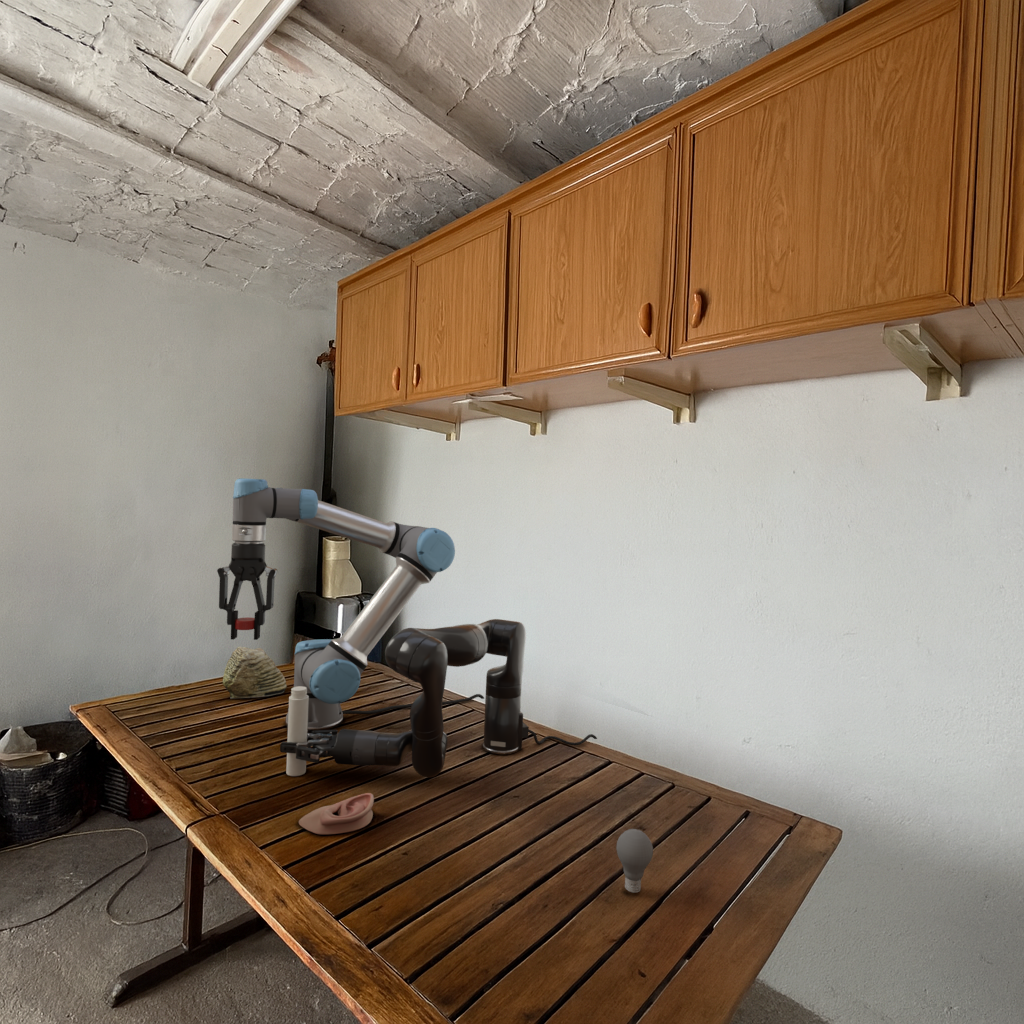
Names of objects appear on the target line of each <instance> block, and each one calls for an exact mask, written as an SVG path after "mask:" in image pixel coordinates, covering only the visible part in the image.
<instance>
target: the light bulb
mask: <svg viewBox="0 0 1024 1024" xmlns="http://www.w3.org/2000/svg"><path fill="white" fill-rule="evenodd" d="M615 849H616V854H617V857H618V859H619V861H620V863H621V865H622V867H623V873H624V874H623V875H624V876H625V878H624V888H625V890H627V891H628V892H630V893H634V894H635V893H639V892H640V891H641V889H642V887H641V886H642V879H643V877H644V875H645V871H646V868H647V867H648V866H649V864H650V863H651V861H652V859H653V855H654V847H653V843H652V841H651V838H649V836H648V835H647V834H646V833H645V832H643V831H642V830H641V829H636V828H629V829H627V830H625V831H623V832H622V833H621V834H620V835H619V837H618V839H617V841H616V847H615Z"/></svg>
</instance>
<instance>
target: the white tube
mask: <svg viewBox="0 0 1024 1024" xmlns="http://www.w3.org/2000/svg"><path fill="white" fill-rule="evenodd" d="M290 690H291V691H290V695H289V697H288V708H289V712H288V711H287V713H288V727H287V738H286V739H287V740H286V742H296V743H304V742H307V733H308V732H307V728H308V701H309V696H308V695H306V694H307V688H306V687H303V686H298V687H294V686H293V687H292V688H291V689H290ZM305 747H306V746H305ZM285 766H286V768H285V770H286V771H285V773H286V775H287V776H290V777H299V776H302V775H305V773H306V772H307V761H305V760H300V759H296V753H286V765H285Z"/></svg>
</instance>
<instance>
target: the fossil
mask: <svg viewBox="0 0 1024 1024" xmlns="http://www.w3.org/2000/svg"><path fill="white" fill-rule="evenodd" d="M222 676H223V677H222V685H223V687H224V688H225V690H226V691H228V693H229V698H230V699H250V698H264V697H271V696H275V695H281V694H284V693H285V691H286V689H287V687H288V686H287V680H286V678H285V676H284V674H283V673H282V672H281V669H279V668H278V667H277V665H276V663H275V662H274V660H273V659H272V658H271V657H270V656H269V655H268V654H267V653H266V652H265V650H264V649H263V648H260V647H258V648H251V647H247V646H246V647H245V646H238V647H237V648H236V649H235V650H233V651H232V653H231V656H230V657H229V659H228V660H227V663H226V666H225V668H224V671H223V675H222Z"/></svg>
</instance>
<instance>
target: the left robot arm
mask: <svg viewBox="0 0 1024 1024" xmlns="http://www.w3.org/2000/svg"><path fill="white" fill-rule="evenodd" d="M233 486H234V487H233V495H232V526H231V541H233V542H232V544H231V554H230V555H231V556H230V562H229V564H228V566H227V565H226V566H221V567H218V568H217V570H216V572H217V574H218V577H219V587H218V589H219V590H218V592H219V593H218V609H220V610H224V611H226V624H227V626H230V640H235V639H237V638H238V630H237V629H235V622H236V619H238V618H239V610H236V606H237V603H238V599H239V596H240V593H241V588H242V586H243V583H244V582H246V581H247V582H250V583H251V585H252V589H253V593H254V597H255V603H256V608H257V610H256V611H255V612H254V618H255V620H254V629H253V640H254V641H257V640H258V639H260V638H261V626H263V625H264V624H265V622H266V611H270V610H272V609H273V608H274V604H275V603H274V602H275V599H274V598H275V578H276V576H277V574H278V569H277V568H276V567H275V568H272V567H270V566H268V564H267V563H266V544H265V543H264V542H265V541H267V539H266V536H267V535H266V533H267V519H286V520H289V521H292V522H295V523H298V524H302V525H305V526H308V527H312V528H315V529H318V530H321V531H324V532H327V533H330V534H333V535H336V536H340V537H342V538H346V539H349V540H353V541H356V542H358V543H361V544H365V545H368V546H371V547H375V548H378V550H379V552H380V553H382V554H384V555H388V556H391V557H393V558H394V559H395V567H394V568H393V570H392V571H391V572H390V573H389V574H388V576H387V577H386V578H385V580H384V581H383V583H382V584H381V585H380V586H379V588H378V589H377V590H376V591H375V593H374V594H373V596H372V597H371V598H370V599H369V601H367V603H366V604H365V606H364V607H363V608H362V610H361V611H360V612H359V614H357V616H356V617H355V619H354V620H353V621H352V623H351V624H350V625H349V626H348V627H347V629H346V630H345V631H344V633H342V635H341V636H340V637H338V638H333V639H331V638H329V639H328V638H326V639H325V638H324V639H307V640H302V641H299V642H297V644H295V650H294V672H293V673H294V674H293V687H298V686H303V687H306V688H307V694H306V695H308V696H309V701H308V728H307V733H312V731H318V730H334V729H335V728H337V727H339V726H340V725H342V723H343V722H344V715H372V714H373V715H374V714H379V713H383V712H386V711H391V710H396V709H406V708H407V709H409V708H411V706H412V704H413V703H409V704H397V705H390V706H385V707H382V708H378V709H373V710H372V709H371V710H343V709H342V706H341V704H342V703H344V702H346V701H348V700H350V699H351V698H352V697H353V696H354V695H356V693H357V691H358V690H359V688H360V685H361V675H362V674H363V672H364V671H365V670H366V668H367V667H368V656H369V655H370V653H371V652H372V650H373V649H374V648H375V646H376V645H377V644H378V642H379V641H380V640H381V638H382V637H383V636H384V635H385V633H386V632H387V631H388V629H389V628H390V627H391V625H392V624H393V623H394V621H395V620H396V619H397V617H398V616H399V615H400V613H401V612H402V610H403V609H404V608H405V607H406V605H407V604H408V603H409V601H410V600H411V599H412V598H413V596H414V594H416V592H417V591H418V589H419V588H420V587H421V586H422V585H425V584H430V583H431V581H432V580H433V578H434V577H435V576H436V575H437V573H441V572H443V571H446V570H448V569H449V567H450V566H451V565H452V564H453V561H454V560H455V557H456V556H455V555H456V549H455V547H456V546H455V543H454V541H453V539H452V537H451V536H450V534H449V533H447V532H445V530H441V529H439V528H437V527H425V526H419V525H407V524H401V523H398V522H395V521H389V522H384V521H381V520H379V519H376V518H372V517H370V516H367V515H364V514H361V513H358V512H355V511H352V510H349V509H346V508H343V507H340V506H337V505H334V504H331V503H328V502H325V501H322V500H319V498H318V494H317V492H316V491H315V490H314V489H306V488H283V487H269V484H268V481H267V479H264V478H245V477H244V478H243V477H242V478H237V479H236V480H235V481H234V485H233ZM230 572H231V573H232V574H233V576H234V577H235V578H234V581H233V585H232V586H233V587H232V590H231V593H230V596H229V600H228V592H229V575H230ZM264 572H265V576H266V577H267V579H266V596H265V599H264V594H263V589H262V583H261V582H262V581H261V576H262V575H263V574H264ZM476 698H480V699H482V700H484V699H485V697H484V695H482V694H481V693H476V694H474V695H471V696H469V697H465V699H464V698H459V699H453V700H446V701H442V706H446V705H453V704H458V703H465V702H469V701H472V700H474V699H476ZM288 712H289V707H288V708H287V713H286V715H285V726H286V728H288Z"/></svg>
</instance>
